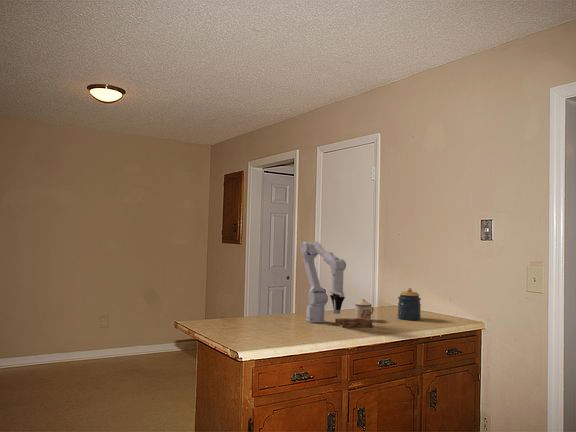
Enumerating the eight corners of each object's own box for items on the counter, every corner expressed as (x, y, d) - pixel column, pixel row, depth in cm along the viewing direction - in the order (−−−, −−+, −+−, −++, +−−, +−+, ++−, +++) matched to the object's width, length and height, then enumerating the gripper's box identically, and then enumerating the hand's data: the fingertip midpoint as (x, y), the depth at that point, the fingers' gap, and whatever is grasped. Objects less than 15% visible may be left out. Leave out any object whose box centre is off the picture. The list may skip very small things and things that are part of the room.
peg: (334, 313, 249) (335, 300, 249) (332, 312, 252) (333, 299, 253) (341, 313, 250) (341, 300, 250) (338, 312, 253) (339, 299, 253)
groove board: (343, 327, 249) (343, 322, 249) (335, 323, 260) (335, 318, 260) (372, 327, 253) (372, 322, 253) (362, 322, 264) (363, 318, 264)
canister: (423, 321, 275) (423, 289, 276) (400, 320, 276) (400, 289, 276) (417, 317, 288) (418, 287, 289) (395, 316, 289) (396, 286, 289)
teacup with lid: (362, 321, 267) (362, 300, 267) (351, 319, 275) (351, 298, 275) (378, 320, 273) (378, 299, 274) (367, 317, 281) (368, 297, 282)
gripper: (325, 281, 258) (325, 307, 257) (335, 284, 244) (334, 311, 243) (338, 281, 259) (337, 307, 259) (348, 284, 245) (347, 311, 245)
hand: (336, 309), depth 251 cm, fingers closed on peg, 3 cm apart
